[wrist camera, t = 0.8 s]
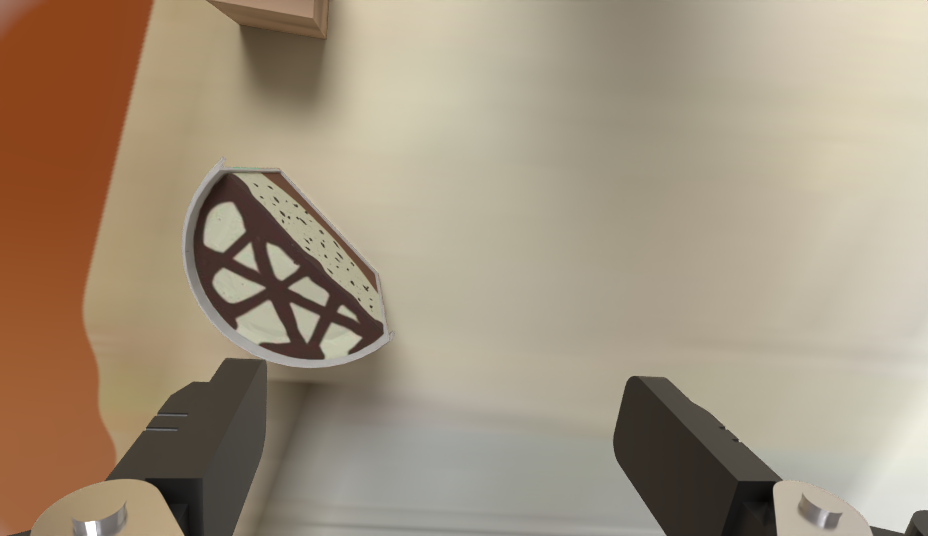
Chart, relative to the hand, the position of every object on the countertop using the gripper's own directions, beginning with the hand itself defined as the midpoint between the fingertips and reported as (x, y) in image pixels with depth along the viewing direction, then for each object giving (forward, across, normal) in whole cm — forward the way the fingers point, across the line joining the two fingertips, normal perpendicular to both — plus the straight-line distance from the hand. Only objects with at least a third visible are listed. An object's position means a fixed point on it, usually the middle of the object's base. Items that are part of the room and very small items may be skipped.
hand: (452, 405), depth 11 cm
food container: (+24, +7, +4) cm, 26 cm away
